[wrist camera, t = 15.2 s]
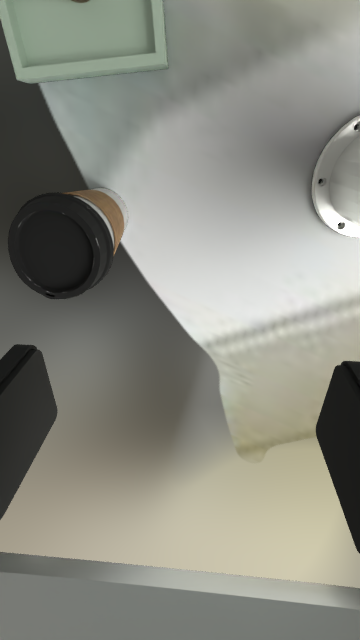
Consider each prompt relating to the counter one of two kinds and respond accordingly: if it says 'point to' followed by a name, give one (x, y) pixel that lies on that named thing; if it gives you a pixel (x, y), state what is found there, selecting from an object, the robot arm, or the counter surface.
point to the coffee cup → (66, 240)
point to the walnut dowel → (80, 1)
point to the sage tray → (83, 38)
